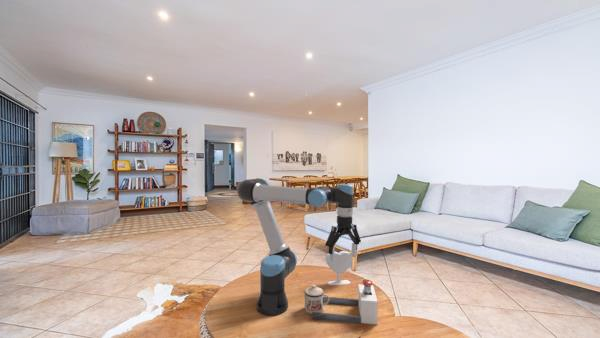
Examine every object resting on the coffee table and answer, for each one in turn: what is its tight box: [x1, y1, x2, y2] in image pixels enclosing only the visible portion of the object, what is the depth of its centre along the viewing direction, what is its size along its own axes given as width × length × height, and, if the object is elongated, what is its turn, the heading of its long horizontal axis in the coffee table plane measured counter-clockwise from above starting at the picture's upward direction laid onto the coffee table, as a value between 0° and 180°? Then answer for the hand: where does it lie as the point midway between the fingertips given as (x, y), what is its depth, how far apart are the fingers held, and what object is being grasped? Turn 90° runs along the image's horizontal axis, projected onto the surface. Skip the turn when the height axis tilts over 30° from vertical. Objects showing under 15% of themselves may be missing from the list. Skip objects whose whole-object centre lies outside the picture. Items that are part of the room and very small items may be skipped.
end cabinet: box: [357, 283, 379, 325], centre depth 125 cm, size 7×16×10 cm, turn 172°
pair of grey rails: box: [311, 296, 362, 324], centre depth 127 cm, size 22×16×2 cm
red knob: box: [362, 279, 373, 295], centre depth 124 cm, size 4×4×7 cm
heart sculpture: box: [325, 250, 354, 286], centre depth 158 cm, size 16×5×18 cm, turn 101°
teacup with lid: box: [303, 284, 330, 315], centre depth 128 cm, size 12×9×12 cm
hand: (343, 258), depth 132 cm, fingers open, 13 cm apart
